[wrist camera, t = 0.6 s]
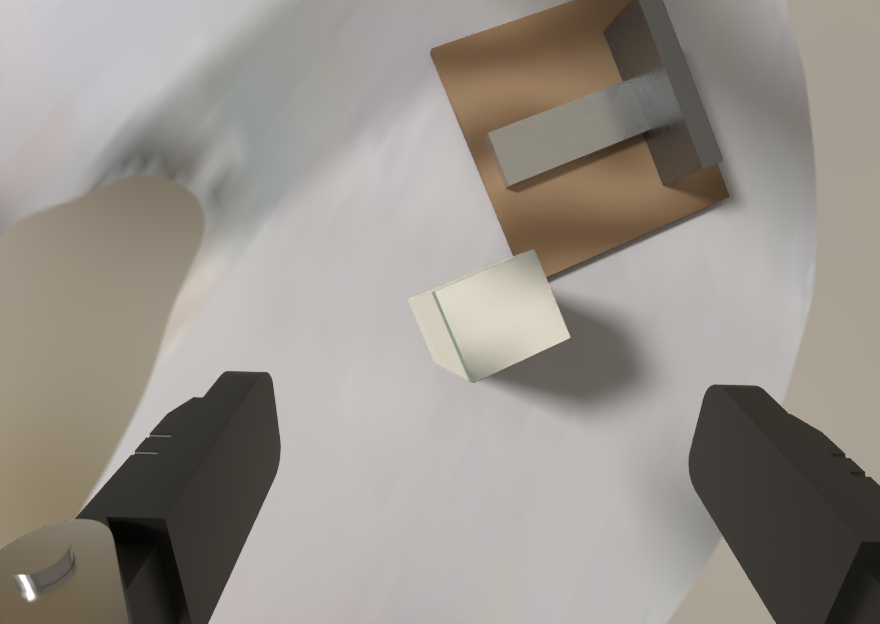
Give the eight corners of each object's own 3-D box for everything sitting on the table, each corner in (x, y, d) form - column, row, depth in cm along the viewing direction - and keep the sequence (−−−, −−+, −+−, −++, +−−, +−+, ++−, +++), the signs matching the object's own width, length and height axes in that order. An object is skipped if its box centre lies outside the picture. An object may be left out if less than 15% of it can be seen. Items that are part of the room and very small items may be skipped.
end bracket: (602, 31, 34) (636, -6, 30) (621, 24, 35) (657, -14, 31) (662, 185, 35) (703, 169, 31) (681, 178, 35) (723, 160, 31)
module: (407, 299, 32) (434, 291, 23) (478, 269, 33) (534, 248, 23) (434, 363, 33) (473, 383, 23) (504, 331, 34) (570, 337, 24)
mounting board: (430, 53, 33) (431, 48, 32) (640, -19, 36) (645, -24, 35) (525, 285, 34) (528, 285, 33) (723, 198, 37) (729, 196, 36)
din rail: (484, 137, 33) (487, 132, 32) (666, 68, 35) (674, 62, 34) (505, 188, 33) (509, 185, 32) (685, 116, 35) (693, 112, 35)
